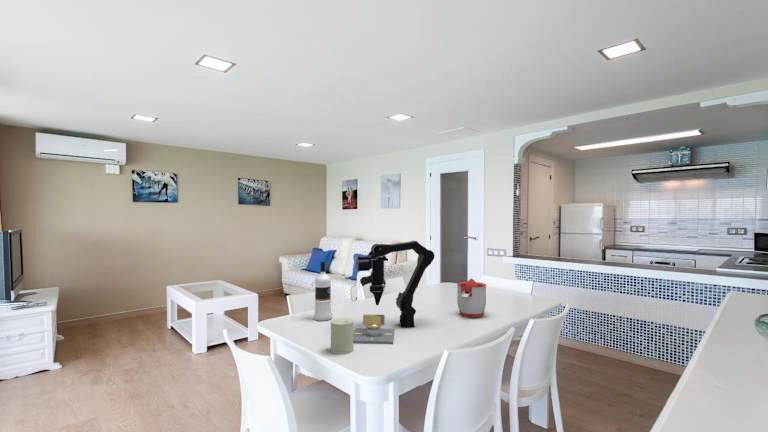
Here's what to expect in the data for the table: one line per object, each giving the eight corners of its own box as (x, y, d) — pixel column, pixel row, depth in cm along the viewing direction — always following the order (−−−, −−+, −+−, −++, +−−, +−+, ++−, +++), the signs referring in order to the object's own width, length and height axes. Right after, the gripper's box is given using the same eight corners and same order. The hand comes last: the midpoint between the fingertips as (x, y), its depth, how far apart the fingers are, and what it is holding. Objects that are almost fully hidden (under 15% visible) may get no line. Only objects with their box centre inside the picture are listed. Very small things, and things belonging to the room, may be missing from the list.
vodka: (313, 317, 195) (313, 260, 196) (331, 316, 197) (331, 260, 198) (314, 322, 186) (314, 262, 187) (332, 320, 188) (332, 262, 189)
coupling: (364, 324, 167) (364, 313, 167) (384, 325, 166) (384, 313, 166) (362, 328, 160) (362, 316, 160) (383, 329, 159) (383, 317, 160)
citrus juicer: (450, 317, 195) (450, 279, 195) (463, 310, 209) (463, 275, 210) (479, 322, 186) (479, 282, 186) (490, 314, 200) (490, 277, 201)
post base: (394, 330, 171) (394, 322, 172) (392, 344, 154) (392, 334, 154) (356, 330, 173) (356, 321, 173) (350, 343, 155) (350, 333, 155)
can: (343, 355, 140) (343, 324, 141) (325, 351, 145) (325, 320, 145) (358, 348, 148) (358, 318, 148) (340, 344, 153) (340, 315, 153)
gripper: (363, 267, 186) (363, 298, 186) (358, 272, 167) (358, 307, 167) (385, 267, 185) (385, 298, 185) (383, 273, 167) (383, 307, 167)
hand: (378, 302), depth 176 cm, fingers open, 9 cm apart
